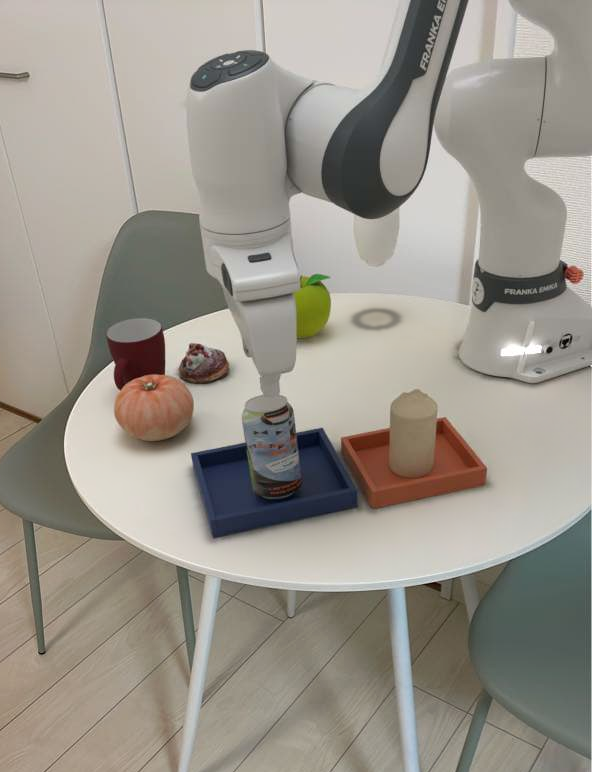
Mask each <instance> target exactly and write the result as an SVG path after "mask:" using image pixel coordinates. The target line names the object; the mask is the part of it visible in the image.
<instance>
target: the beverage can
mask: <svg viewBox="0 0 592 772" xmlns="http://www.w3.org/2000/svg"><path fill="white" fill-rule="evenodd" d="M294 412H295V411H294V408H293V406H292V405H291V404H290V403H289V402H288V398H287V397H286V396H285V395H282V394H279V395H277V396H274V397H268V398H267V397H265V396H264V395H263V394H261V395H256V396H253V397H251V398H249V399H248V400H246V401H245V404H244V409H243V411H242V413H241V422H242V423H241V424H242V429H243V437H244V443H246V449H247V456H248V462H249V469H250V475H251V481H252V488H253V491H254V492H255V493H257V494H258V495H260V496H262V497H264V498H268V499H281V498H285V497H288V496H290V495H292V494H293V493H294V492H295V491H296V490H298V489H299V488H300V486H301V484H302V479H301V471H300V462H299V453H298V445H297V436H296V433H297V427H296V420H295V413H294Z"/></svg>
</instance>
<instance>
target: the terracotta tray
mask: <svg viewBox="0 0 592 772" xmlns="http://www.w3.org/2000/svg"><path fill="white" fill-rule="evenodd" d="M389 446H390V427H388V428H382V429H375V430H372V431H366V432H361V433H356V434H351V435H347V436H341V437H340V454H341V455H342V457H343V459H344V461H345V463H346V464H347V466H348V468H349V470H350V471H351V473H352V475H353V477H354V479H355V480H356V482H357V484H358V486H359V487H360V489H361V491H362V493H363V494H364V496H365V498H366V500H367V502H368V504H369V505H370V507H371V509H372V510H374V509H378V508H384V507H388V506H393V505H397V504H402V503H407V502H411V501H416V500H421V499H425V498H430V497H435V496H440V495H444V494H449V493H453V492H458V491H463V490H469V489H473V488H477V487H482V486H486V483H487V482H486V481H487V474H488V467H487V466H486V464H485V463H484V462H483V461H482V460H481V458H480V457H479V455H477V454H476V452H475V451H474V450H473V449H472V447H471V446H470V445H469V444H468V442H467V441H466V440H465V438H464V437H463V436H462V435H461V434H460V432H459V431H458V430H457V429H456V428H455V426H454V425H453V424H452V423H451V422H450V420H449V419H448V418H447V416H443V417H437V424H436V438H435V452H434V464H433V468H432V470H431V472H429V473H428V474H427V475H424V476H422V477H417V478H407V477H402V476H399V475H397V474H395V473H394V472H393V471H392V470H391V469H390V465H389Z"/></svg>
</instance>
